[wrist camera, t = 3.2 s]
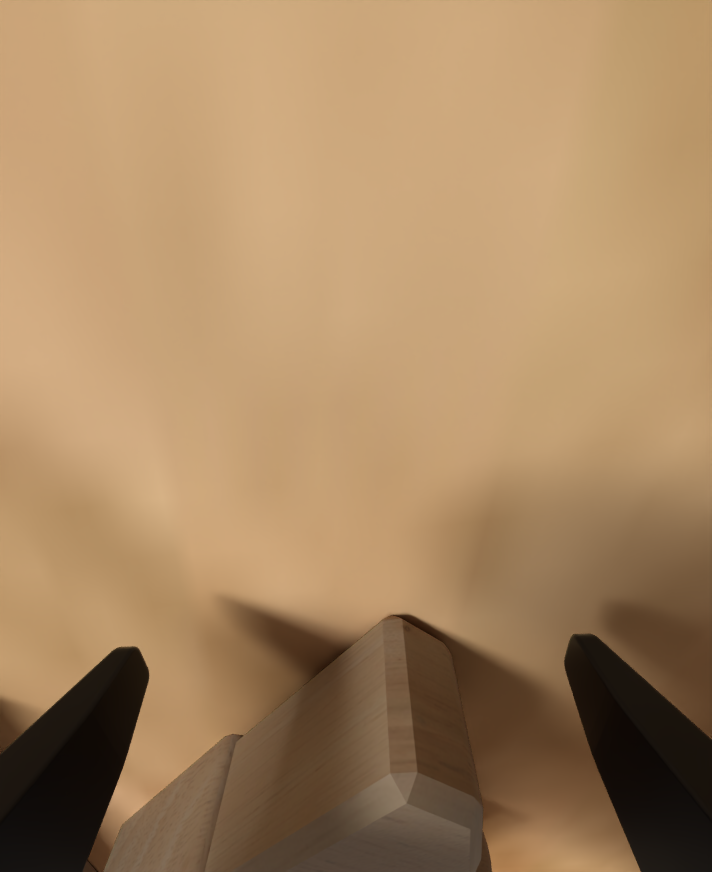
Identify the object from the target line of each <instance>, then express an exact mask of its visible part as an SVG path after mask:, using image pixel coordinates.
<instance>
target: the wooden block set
mask: <svg viewBox="0 0 712 872" xmlns="http://www.w3.org/2000/svg"><path fill="white" fill-rule="evenodd" d="M482 827H483V804H482V799H481V795H480V790H479V785H478V780H477V775H476V771H475V766H474V761H473V756H472V751H471V746H470V742H469V737H468V732H467V727H466V722H465V718H464V713H463V708H462V703H461V698H460V693H459V689H458V684H457V679H456V674H455V669H454V665H453V660H452V655H451V653H450V652H449V650H448V649H447V647H446V646H445V644H444V643H443V642H441V641H439V640H437V639H436V638H434V637H432V636H431V635H429V634H427V633H425V632H424V631H422V630H420V629H419V628H417V627H415V626H413V625H412V624H410V623H408V622H406V621H405V620H403V619H401V618H399V617H396V616H394V615H393V616H389V617H387V618H386V619H384V620H382V621H381V622H380V623H379V624H377V625H376V626H375V627H374V628H373V629H371V630H370V631H369V632H368V633H367V634H365V635H364V636H363V637H362V638H361V639H359V640H358V641H357V642H356V643H355V644H353V645H352V646H351V647H350V648H349V649H347V650H346V651H345V652H344V653H343V654H341V655H340V656H339V657H338V658H337V659H335V660H334V661H333V662H332V663H331V664H329V665H328V666H327V667H326V668H325V669H323V670H322V671H321V672H320V673H319V674H317V675H316V676H315V677H314V678H313V679H311V680H310V681H309V682H308V683H307V684H305V685H304V686H303V687H302V688H301V689H299V690H298V691H297V692H296V693H295V694H293V695H292V696H291V697H290V698H289V699H287V700H286V701H285V702H284V703H283V704H281V705H280V706H279V707H278V708H277V709H275V710H274V711H273V712H272V713H271V714H269V715H268V716H267V717H266V718H265V719H263V720H262V721H261V722H260V723H259V724H257V725H256V726H255V727H254V728H253V729H251V730H250V731H249V732H248V733H247V734H245V735H244V736H242V735H236V734H231V735H228V736H225V737H224V738H223V739H221V740H220V741H219V742H218V743H217V744H216V745H214V746H213V747H212V748H211V749H210V750H209V751H207V752H206V753H205V754H204V755H203V756H202V757H200V758H199V759H198V760H197V761H196V762H195V763H193V764H192V765H191V766H190V767H189V768H188V769H186V770H185V771H184V772H183V773H182V774H181V775H180V776H178V777H177V778H176V779H175V780H174V781H173V782H171V783H170V784H169V785H168V786H167V787H166V788H164V789H163V790H162V791H161V792H160V793H159V794H157V795H156V796H155V797H154V798H153V799H152V800H150V801H149V802H148V803H147V804H146V805H145V806H143V807H142V808H141V809H140V810H139V811H138V812H136V813H135V814H134V815H133V816H132V817H131V818H129V819H128V820H127V821H126V822H125V823H124V824H123V825H122V826H121V829H120V831H119V834H118V836H117V839H116V841H115V844H114V846H113V849H112V851H111V854H110V856H109V859H108V861H107V864H106V866H105V869H104V871H103V872H492V868H491V860H490V854H489V850H488V845H487V842H486V839H485V835H484V833H483V830H482Z"/></svg>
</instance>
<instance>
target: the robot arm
mask: <svg viewBox="0 0 712 872" xmlns="http://www.w3.org/2000/svg"><path fill="white" fill-rule="evenodd" d="M564 665H565V671H566V674H567V677H568V680H569V684H570V687H571V690H572V693H573V696H574V699H575V703H576V706H577V709H578V712H579V715H580V718H581V722H582V725H583V728H584V731H585V734H586V737H587V741H588V744H589V746H590V749H591V752H592V755H593V758H594V760H595V763H596V766H597V768H598V771H599V773H600V775H601V778H602V780H603V783H604V785H605V787H606V790H607V792H608V794H609V797H610V799H611V802H612V804H613V806H614V809H615V811H616V813H617V816H618V818H619V821H620V823H621V825H622V828H623V830H624V833H625V835H626V837H627V840H628V842H629V844H630V847H631V849H632V852H633V854H634V856H635V859H636V861H637V863H638V866H639V868H640V871H641V872H712V739H710V738H709V737H708V736H707V735H706V734H705V733H704V732H703V731H702V730H700V729H699V728H698V727H697V726H696V725H695V724H694V723H693V722H691V721H690V720H689V719H688V718H687V717H686V716H685V715H684V714H683V713H681V712H680V711H679V710H678V709H677V708H676V707H675V706H674V705H673V704H671V703H670V702H669V701H668V700H667V699H666V698H665V697H664V696H662V695H661V694H660V693H659V692H658V691H657V690H656V689H655V688H654V687H652V686H651V685H650V684H649V683H648V682H647V681H646V680H645V679H644V678H642V677H641V676H640V675H639V674H638V673H637V672H636V671H635V670H633V669H632V668H631V667H630V666H629V665H628V664H627V663H626V662H625V661H623V660H622V659H621V658H620V657H619V656H618V655H617V654H616V653H615V652H613V651H612V650H611V649H610V648H609V647H608V646H607V645H606V644H604V643H603V642H602V641H601V640H600V639H599V638H598V637H596V636H595V635H593V634H573V635H572V636H571V638H570V641H569V644H568V648H567V651H566V655H565V660H564ZM148 681H149V670H148V667H147V665H146V663H145V661H144V658H143V656H142V654H141V652H140V650H139V648H137V647H118V648H116V649H115V650H113V651H112V652H111V653H110V654H108V655H107V656H106V657H105V658H104V659H103V660H102V661H101V662H100V663H99V664H98V665H97V666H95V667H94V668H93V669H92V670H91V671H90V672H89V673H88V674H87V675H86V676H85V677H83V678H82V679H81V680H80V681H79V682H78V683H77V684H76V685H75V686H74V687H73V688H71V689H70V690H69V691H68V692H67V693H66V694H65V695H64V696H63V697H62V698H61V699H60V700H58V701H57V702H56V703H55V704H54V705H53V706H52V707H51V708H50V709H49V710H48V711H46V712H45V713H44V714H43V715H42V716H41V717H40V718H39V719H38V720H37V721H36V722H34V723H33V724H32V725H31V726H30V727H29V728H28V729H27V730H26V731H25V732H24V733H22V734H21V735H20V736H19V737H18V738H17V739H16V740H15V741H14V742H13V743H12V744H11V745H9V746H8V747H7V748H6V749H5V750H4V751H3V752H2V753H1V754H0V872H83V870H84V867H85V864H86V862H87V859H88V857H89V854H90V852H91V849H92V846H93V844H94V841H95V839H96V836H97V834H98V831H99V828H100V826H101V823H102V821H103V818H104V816H105V813H106V810H107V808H108V805H109V803H110V800H111V798H112V795H113V792H114V790H115V787H116V785H117V782H118V779H119V777H120V774H121V771H122V769H123V766H124V763H125V760H126V757H127V753H128V750H129V747H130V743H131V740H132V736H133V733H134V730H135V726H136V723H137V719H138V716H139V712H140V709H141V705H142V702H143V699H144V695H145V692H146V688H147V685H148Z"/></svg>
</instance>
